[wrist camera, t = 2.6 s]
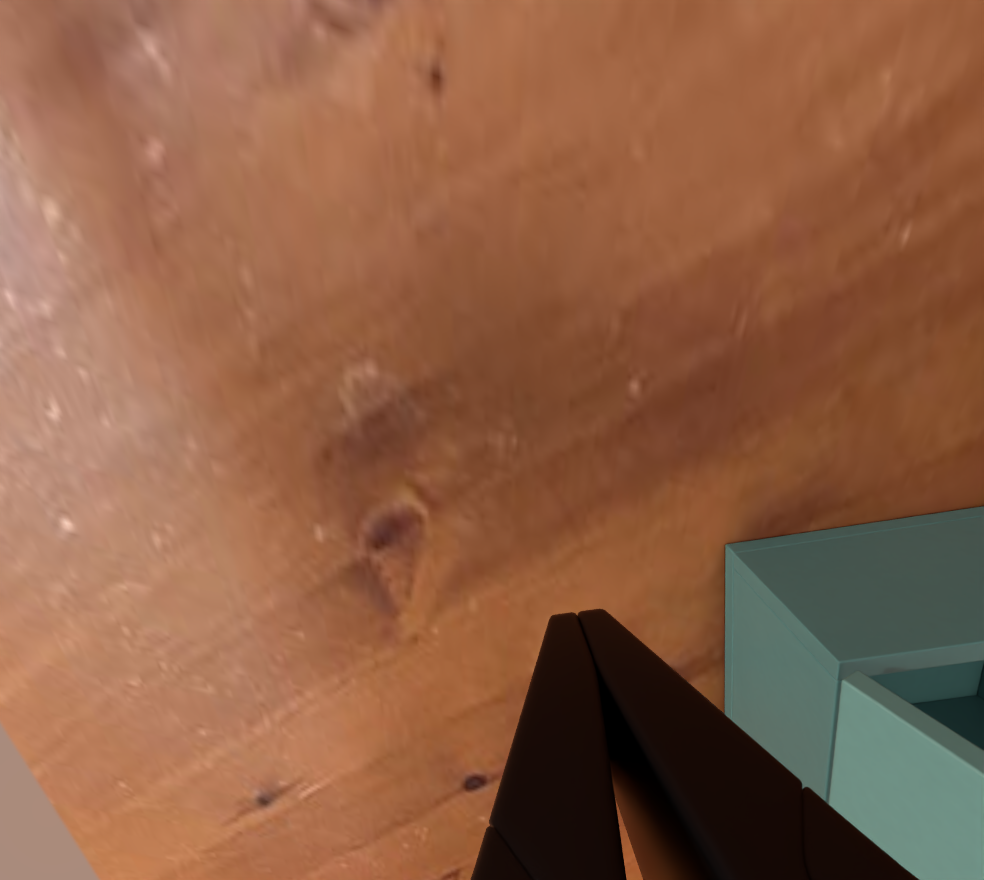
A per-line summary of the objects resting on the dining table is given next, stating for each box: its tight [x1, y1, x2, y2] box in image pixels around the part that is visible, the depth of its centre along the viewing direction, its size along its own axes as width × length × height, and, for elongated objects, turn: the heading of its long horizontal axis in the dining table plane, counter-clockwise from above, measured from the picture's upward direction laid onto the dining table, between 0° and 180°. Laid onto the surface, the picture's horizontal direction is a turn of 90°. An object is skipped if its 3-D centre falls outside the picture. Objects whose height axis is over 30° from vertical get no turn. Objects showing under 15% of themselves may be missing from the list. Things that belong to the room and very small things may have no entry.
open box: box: [725, 506, 984, 804], centre depth 20 cm, size 14×12×7 cm
